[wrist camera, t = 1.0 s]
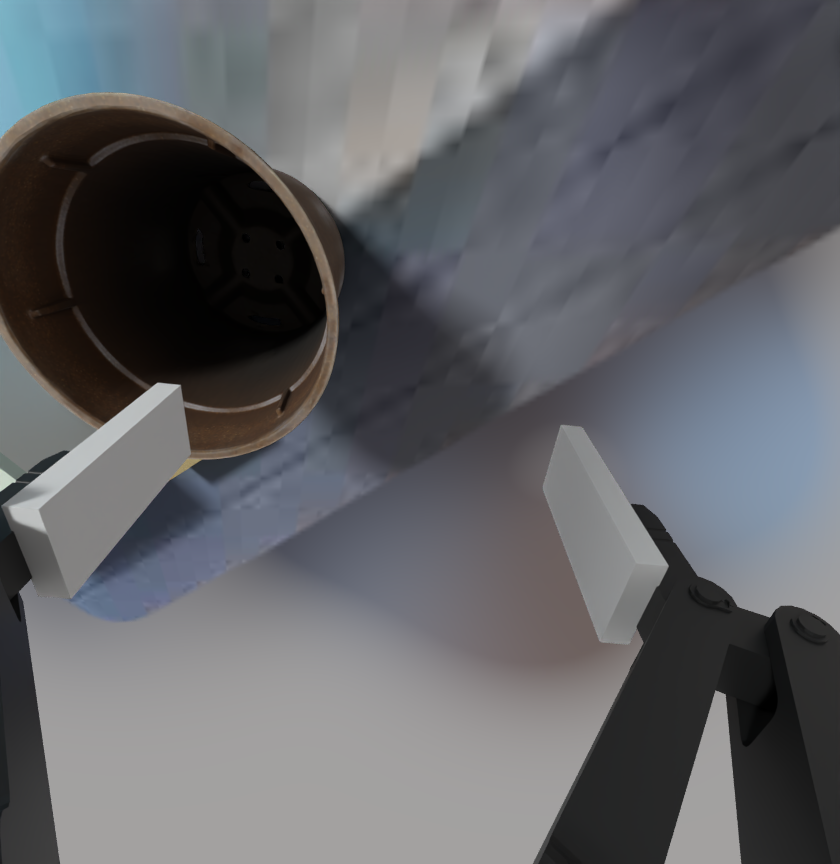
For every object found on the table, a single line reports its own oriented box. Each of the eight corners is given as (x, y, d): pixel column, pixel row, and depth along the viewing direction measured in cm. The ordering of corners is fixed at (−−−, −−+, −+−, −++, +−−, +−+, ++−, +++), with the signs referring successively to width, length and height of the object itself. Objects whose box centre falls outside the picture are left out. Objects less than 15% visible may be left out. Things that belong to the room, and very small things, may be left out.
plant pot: (125, 125, 31) (-118, 90, 17) (365, 125, 31) (318, 91, 17) (185, 355, 39) (53, 459, 25) (376, 356, 39) (350, 461, 25)
